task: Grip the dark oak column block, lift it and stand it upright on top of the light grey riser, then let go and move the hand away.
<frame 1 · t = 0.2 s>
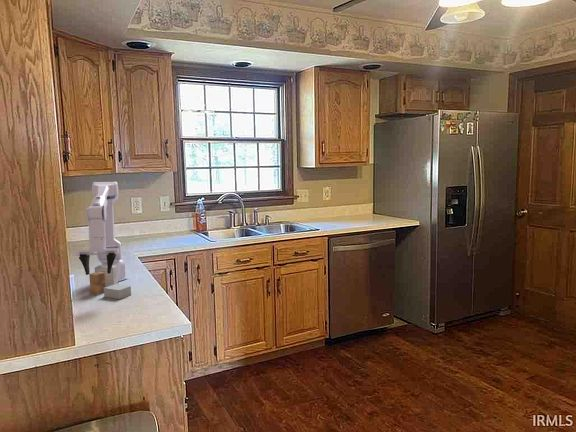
hand: (98, 273, 163), 11 cm above the countertop, tool pointing down, fingers open, 7 cm apart
light grey riser: (117, 295, 171), on the countertop
medicine box: (107, 286, 185), on the countertop
oak column: (98, 292, 175), on the countertop
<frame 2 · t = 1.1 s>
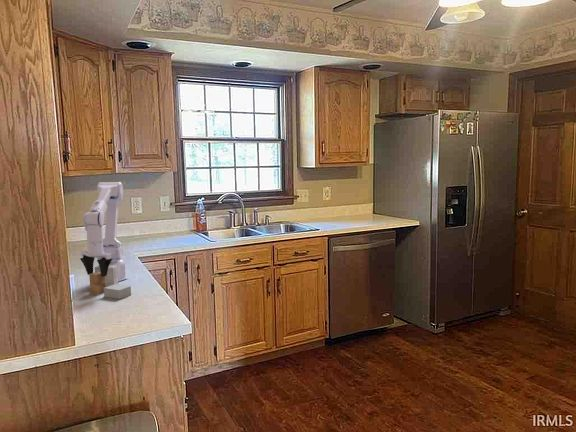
hand: (97, 275, 174), 7 cm above the countertop, tool pointing down, fingers open, 7 cm apart
nothing on the countertop moved.
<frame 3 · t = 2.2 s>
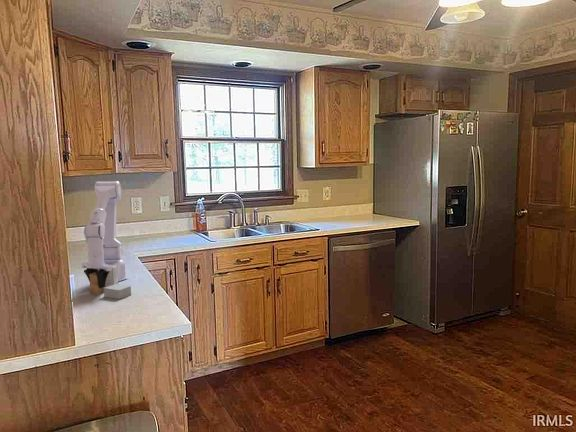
hand: (97, 286, 175), 2 cm above the countertop, tool pointing down, fingers closed on oak column, 4 cm apart
oak column: (98, 292, 175), on the countertop, touching gripper
everything else where it was.
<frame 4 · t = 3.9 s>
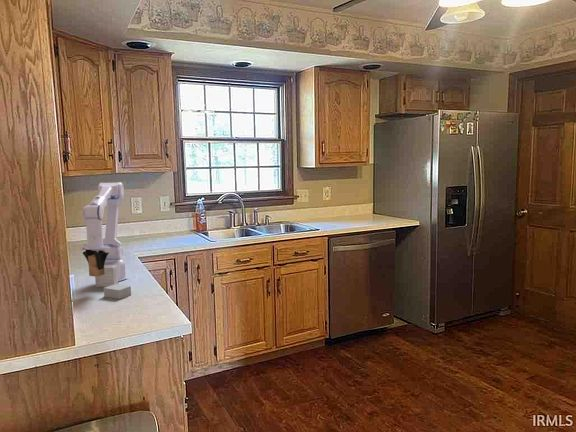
hand: (96, 268, 174), 10 cm above the countertop, tool pointing down, fingers closed on oak column, 4 cm apart
oak column: (96, 275, 174), point 7 cm above the countertop, touching gripper
everything else where it was.
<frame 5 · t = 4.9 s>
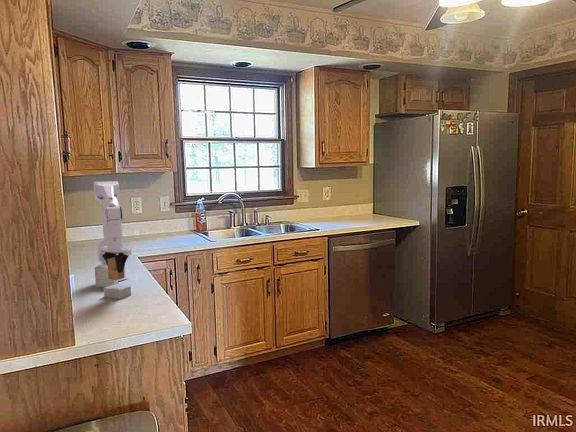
hand: (116, 271, 170), 10 cm above the countertop, tool pointing down, fingers closed on oak column, 4 cm apart
oak column: (116, 278, 170), point 7 cm above the countertop, touching gripper
everything else where it was.
when the fingers open (7 cm above the countertop, at t = 5.8 s): oak column stays where it is, resting on light grey riser.
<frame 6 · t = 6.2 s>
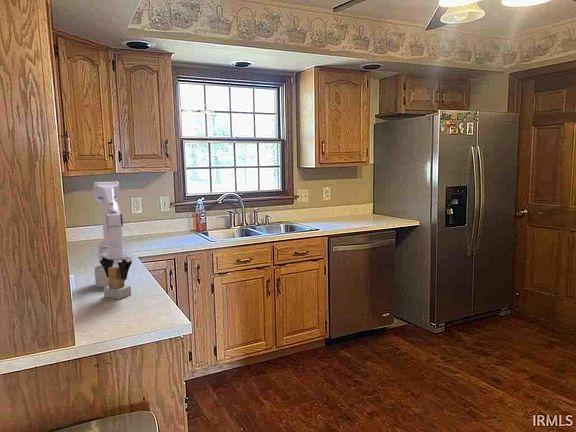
hand: (116, 278, 170), 7 cm above the countertop, tool pointing down, fingers open, 7 cm apart
oak column: (116, 287, 170), point 3 cm above the countertop, touching light grey riser
everything else where it was.
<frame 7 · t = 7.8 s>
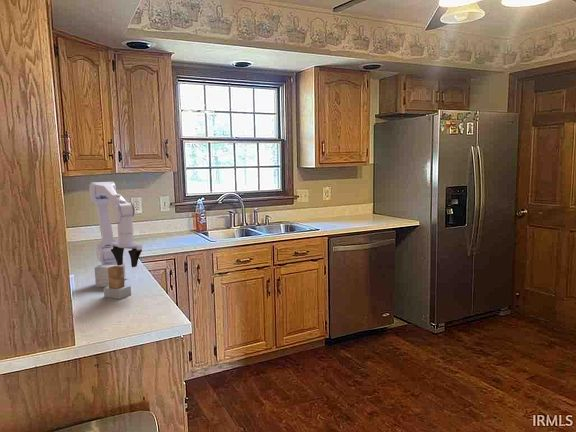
hand: (127, 265, 177), 10 cm above the countertop, tool pointing down, fingers open, 7 cm apart
nothing on the countertop moved.
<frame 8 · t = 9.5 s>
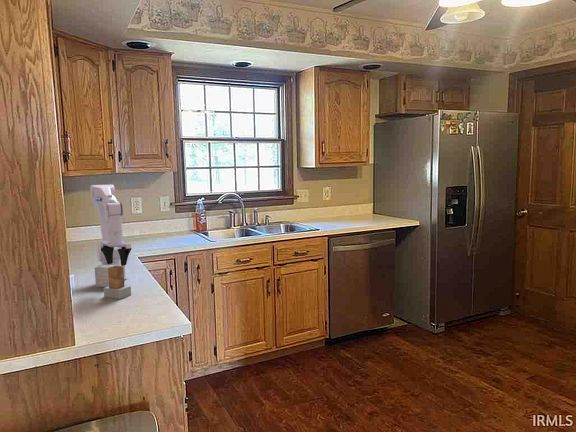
hand: (116, 264, 178), 10 cm above the countertop, tool pointing down, fingers open, 7 cm apart
nothing on the countertop moved.
at the end: oak column 0.2 cm off-centre on the light grey riser, point 3.5 cm above the light grey riser's base; oak column tilted 0°; the gripper is holding nothing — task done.
